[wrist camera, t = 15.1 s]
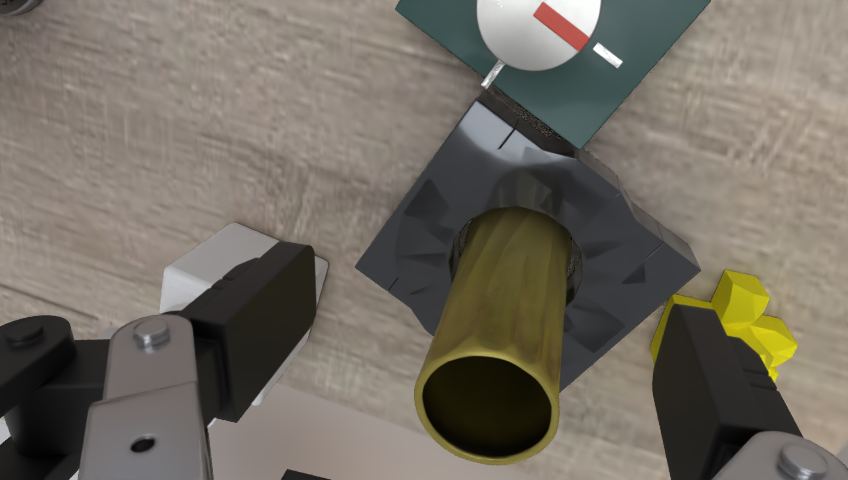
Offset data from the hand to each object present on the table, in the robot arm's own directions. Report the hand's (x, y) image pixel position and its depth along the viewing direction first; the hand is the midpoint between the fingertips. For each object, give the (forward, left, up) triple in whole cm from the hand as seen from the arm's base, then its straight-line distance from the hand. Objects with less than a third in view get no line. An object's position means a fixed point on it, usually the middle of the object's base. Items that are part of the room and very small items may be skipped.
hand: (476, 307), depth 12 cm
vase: (+4, -6, -19) cm, 20 cm away
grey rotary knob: (-3, +5, -16) cm, 17 cm away
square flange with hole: (+4, -6, -19) cm, 20 cm away
